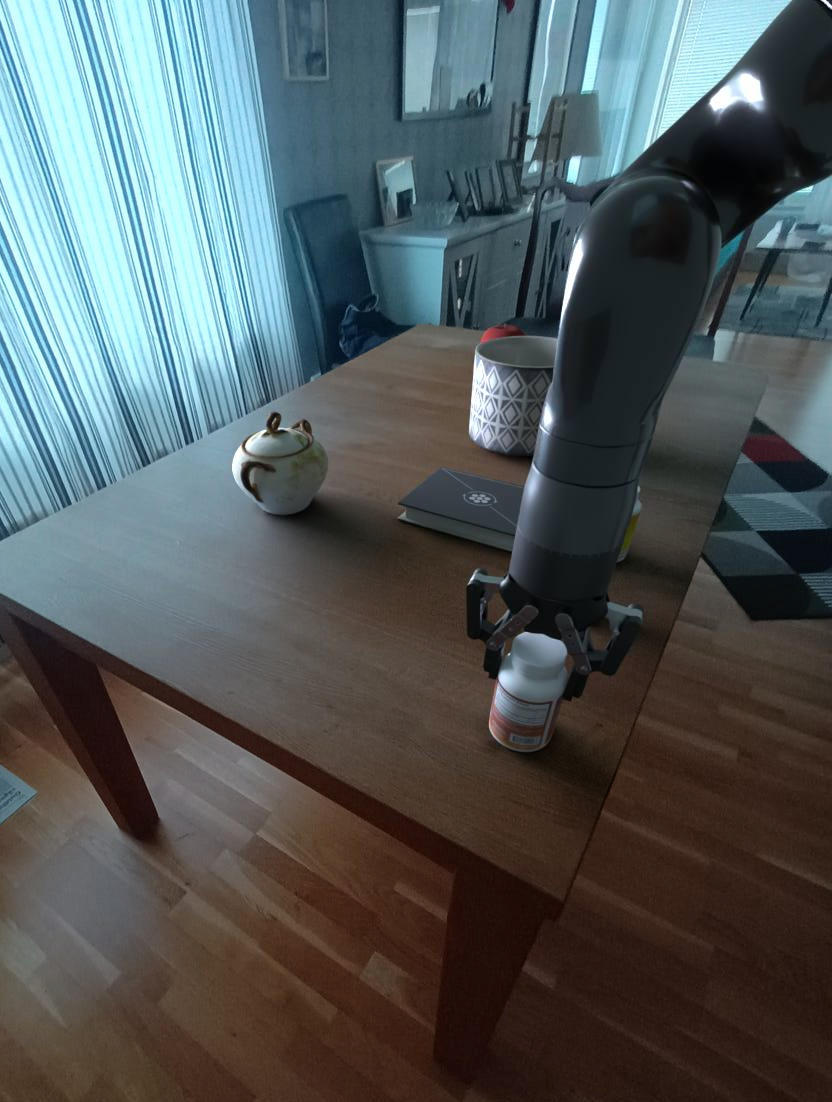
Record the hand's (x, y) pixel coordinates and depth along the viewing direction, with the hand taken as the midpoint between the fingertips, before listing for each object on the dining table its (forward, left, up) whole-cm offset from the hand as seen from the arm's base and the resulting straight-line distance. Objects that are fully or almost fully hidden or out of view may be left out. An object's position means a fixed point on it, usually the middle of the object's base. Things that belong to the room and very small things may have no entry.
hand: (531, 683), depth 53 cm
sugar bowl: (+56, -5, -7) cm, 57 cm away
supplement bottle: (+15, -33, -7) cm, 37 cm away
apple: (+80, -79, -7) cm, 113 cm away
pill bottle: (0, 0, -7) cm, 7 cm away
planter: (+49, -52, -7) cm, 72 cm away
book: (+33, -27, -7) cm, 43 cm away
